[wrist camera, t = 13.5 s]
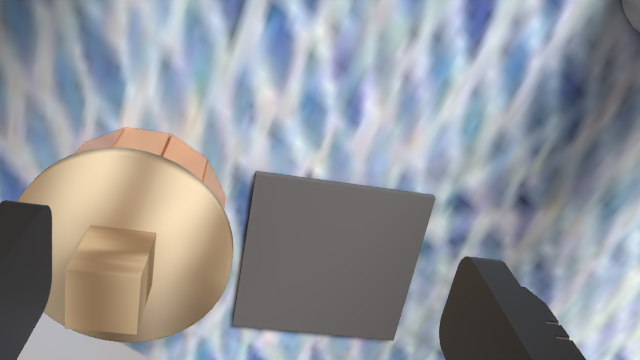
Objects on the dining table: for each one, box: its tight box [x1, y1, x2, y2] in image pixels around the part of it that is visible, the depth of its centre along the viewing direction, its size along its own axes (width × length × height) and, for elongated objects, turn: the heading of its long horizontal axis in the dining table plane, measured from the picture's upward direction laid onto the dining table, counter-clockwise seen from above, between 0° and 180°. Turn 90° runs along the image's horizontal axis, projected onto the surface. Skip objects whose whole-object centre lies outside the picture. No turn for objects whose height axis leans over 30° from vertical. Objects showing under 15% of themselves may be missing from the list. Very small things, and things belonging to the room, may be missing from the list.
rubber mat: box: [233, 171, 435, 340], centre depth 47 cm, size 14×14×1 cm
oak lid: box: [17, 147, 233, 342], centre depth 35 cm, size 14×14×6 cm
